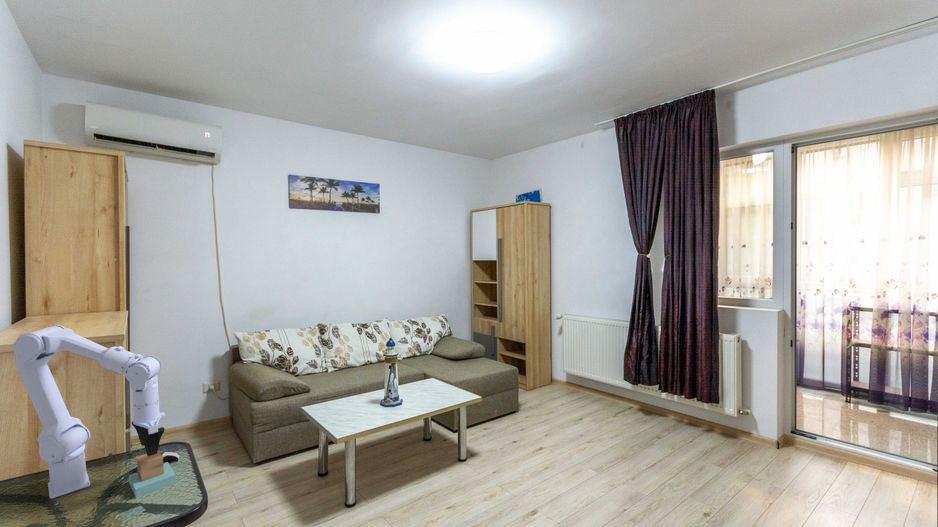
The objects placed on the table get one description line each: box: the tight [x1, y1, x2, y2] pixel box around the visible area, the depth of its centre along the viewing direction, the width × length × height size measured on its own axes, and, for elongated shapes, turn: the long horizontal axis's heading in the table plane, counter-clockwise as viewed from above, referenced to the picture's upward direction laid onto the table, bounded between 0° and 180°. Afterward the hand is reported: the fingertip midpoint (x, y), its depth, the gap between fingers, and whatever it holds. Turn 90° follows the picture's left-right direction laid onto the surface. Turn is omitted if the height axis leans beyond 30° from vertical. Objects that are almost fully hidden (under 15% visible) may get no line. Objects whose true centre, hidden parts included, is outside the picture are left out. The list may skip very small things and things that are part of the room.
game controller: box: [159, 451, 180, 462], centre depth 128 cm, size 10×5×6 cm
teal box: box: [128, 461, 177, 499], centre depth 120 cm, size 9×9×3 cm
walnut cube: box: [135, 450, 164, 481], centre depth 120 cm, size 5×5×5 cm
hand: (149, 449), depth 120 cm, fingers open, 7 cm apart
